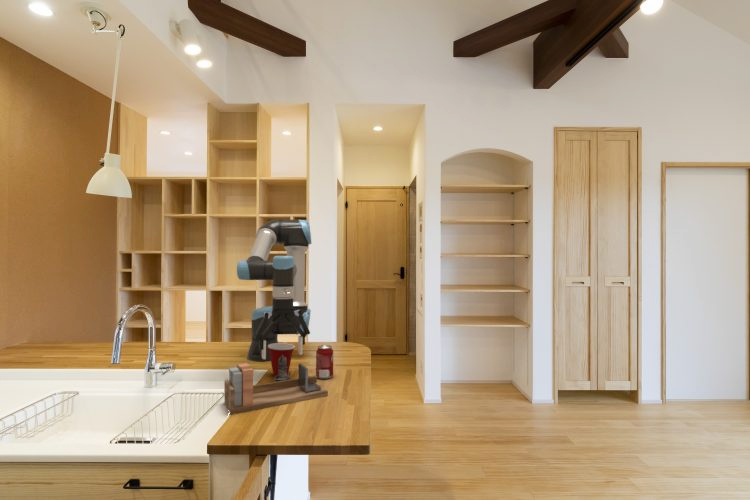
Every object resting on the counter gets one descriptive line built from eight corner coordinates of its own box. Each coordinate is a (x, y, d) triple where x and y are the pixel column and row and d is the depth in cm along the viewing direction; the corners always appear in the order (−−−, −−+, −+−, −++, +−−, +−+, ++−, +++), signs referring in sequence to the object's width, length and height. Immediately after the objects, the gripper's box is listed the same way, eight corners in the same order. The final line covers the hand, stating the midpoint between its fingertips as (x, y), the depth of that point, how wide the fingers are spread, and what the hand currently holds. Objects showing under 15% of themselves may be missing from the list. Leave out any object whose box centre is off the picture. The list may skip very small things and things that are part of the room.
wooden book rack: (224, 402, 130) (224, 364, 130) (315, 386, 147) (315, 352, 147) (230, 414, 121) (231, 373, 121) (327, 395, 137) (328, 359, 137)
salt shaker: (293, 385, 147) (293, 353, 147) (285, 390, 142) (285, 357, 142) (279, 383, 149) (280, 351, 149) (270, 388, 143) (271, 355, 143)
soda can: (330, 380, 153) (330, 349, 153) (313, 379, 154) (313, 348, 154) (335, 375, 160) (335, 345, 160) (319, 373, 161) (319, 344, 161)
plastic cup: (298, 376, 157) (298, 346, 157) (270, 380, 152) (270, 349, 152) (291, 369, 167) (291, 340, 167) (265, 372, 162) (265, 343, 162)
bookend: (298, 386, 141) (298, 363, 141) (313, 383, 144) (313, 361, 144) (305, 392, 135) (305, 368, 135) (321, 389, 138) (321, 366, 138)
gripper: (250, 300, 136) (250, 363, 135) (318, 297, 148) (318, 354, 148) (245, 298, 142) (245, 358, 142) (311, 295, 155) (310, 350, 154)
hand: (282, 356), depth 145 cm, fingers open, 13 cm apart
